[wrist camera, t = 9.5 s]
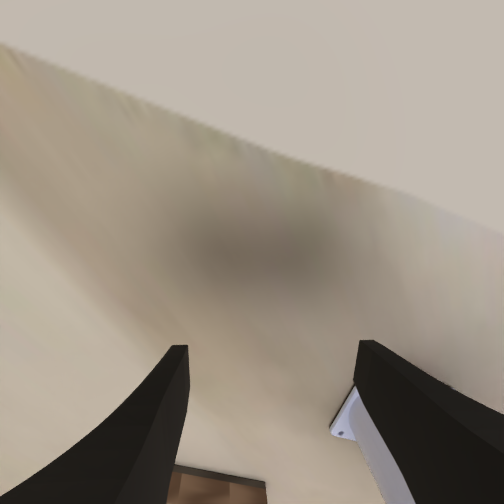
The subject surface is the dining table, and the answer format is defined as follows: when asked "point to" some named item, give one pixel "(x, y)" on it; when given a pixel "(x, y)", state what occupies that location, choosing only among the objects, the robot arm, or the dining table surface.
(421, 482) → the robot arm
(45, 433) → the dining table surface
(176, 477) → the walnut block
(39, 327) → the dining table surface
